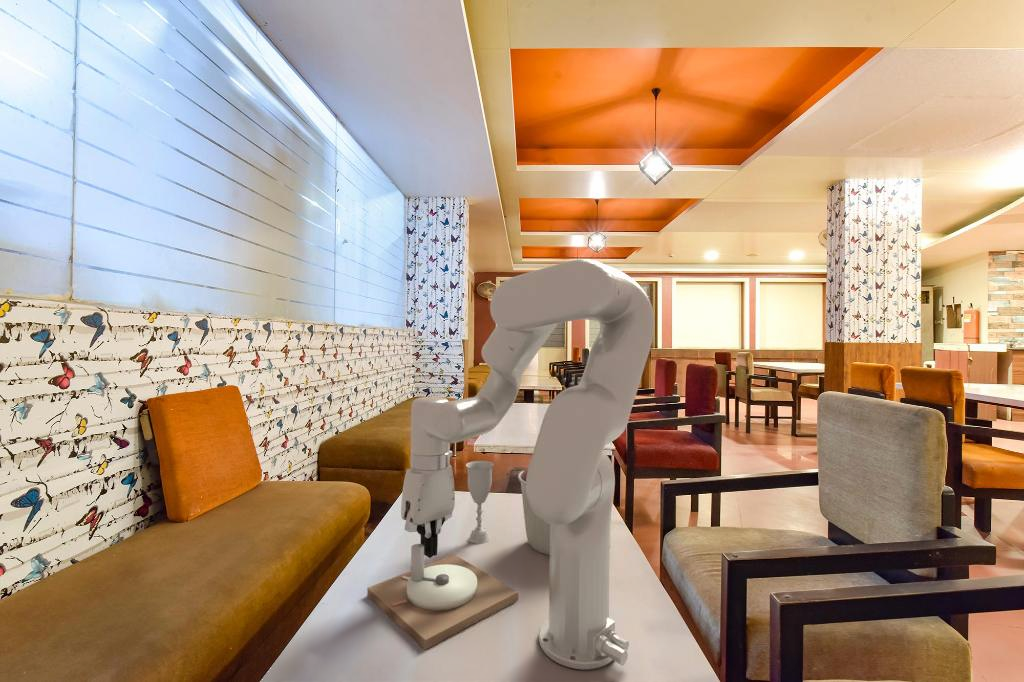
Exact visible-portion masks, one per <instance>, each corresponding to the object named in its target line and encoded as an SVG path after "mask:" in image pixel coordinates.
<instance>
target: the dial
mask: <svg viewBox="0 0 1024 682" xmlns="http://www.w3.org/2000/svg"><path fill="white" fill-rule="evenodd" d="M410 549H411V550H410V552H411V553H410V559H411V560H410V571H411V577H410V578H409V580H408V582H407V598H408V600H409V601H410V602H411V603H412V604H413V605H415V606H417V607H419V608H422V609H427V610H448V609H453V608H457V607H459V606H462V605H464V604H466V603H467V602H469V601H470V600H471V599H472V598H473V597H474V596H475V595H476V592H477V577H476V575H475V574H474V573H473V572H472V571H471V570H469V569H467V568H465V567H462V566H458V565H447V564H445V565H435V566H430V567H427V568H424V566H425V555H424V545H423V544H421V543H415V544H413V545H412V546H411V547H410Z"/></svg>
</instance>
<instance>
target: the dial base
mask: <svg viewBox="0 0 1024 682" xmlns="http://www.w3.org/2000/svg"><path fill="white" fill-rule="evenodd" d="M445 564H447V565H458V566H462V567H465V568H467V569H469V570H471V571H472V572H473V573H474V574H475V575H476V577H477V592H476V595H475V596H474V597H473V598H472V599H471V600H470V601H469V602H467V603H466V604H464V605H462V606H459V607H457V608H453V609H448V610H427V609H422V608H419V607H417V606H415V605H413V604H412V603H411V602H410V601H409V600H408V598H407V582H408V580H409V578H410V577H411V570H409V571H408V572H404V573H402V574H400V575H396V576H394V577H392V578H390V579H386V580H384V581H382V582H379V583H377V584H373V585H371V586H369V587H367V590H366V591H367V592H366V593H367V594H366V595H367V597H368V598H369V599H370V600H371V601H372V602H373V603H374V604H376V605H377V606H378V608H380V609H381V610H382V611H383V612H384V613H385V614H386V615H388V617H389V618H391V619H392V621H394V623H396V624H397V625H398V626H400V627H401V629H402V630H404V631H405V632H406V634H408V635H409V636H410V637H411V638H412V639H414V641H415V642H416V643H418V645H420V646H421V647H422V648H423V649H424V650H427V649H429V648H431V647H433V646H435V645H437V644H439V643H440V642H443V641H444V640H446V639H448V638H450V637H451V636H453V635H455V634H457V633H459V632H461V631H463V630H465V629H467V628H468V627H470V625H471V626H472V625H474V624H476V623H478V622H480V621H482V620H484V619H485V618H487V617H489V616H491V615H493V614H494V613H495V614H496V613H497V612H498V611H501V610H503V609H504V608H506V607H508V606H510V605H513V604H514V603H515V602H517V601H519V592H518V590H515V589H513V588H512V587H510V586H508V585H507V584H505V583H503V582H502V581H500V580H498V579H497V578H495V577H493V576H492V575H490V574H488V573H487V572H485V571H483V570H482V569H480V568H478V567H476V566H474V565H473V564H471V563H470V562H468V561H466V560H465V559H463V558H462V557H460V556H458V555H456V554H454V553H453V554H452V555H448V556H446V557H444V558H441V559H438V560H436V561H433V562H430V563H428V564H424V568H427V567H430V566H435V565H445ZM479 620H480V621H479ZM477 621H478V622H477ZM475 622H476V623H475ZM473 623H474V624H473Z"/></svg>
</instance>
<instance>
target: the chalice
mask: <svg viewBox="0 0 1024 682" xmlns="http://www.w3.org/2000/svg"><path fill="white" fill-rule="evenodd" d="M465 466H466V469H467V488H468V491H469V493H470V496H471V498H472V500H473V503H475V504H476V505H477V507H476V508H477V509H476V511H475V512H476V513H477V516H476V518H475V520H476V523H477V524H476V527H474V528H473V529H472V530H471V532H470V535H469V537H468V541H469V542H470V543H472V544H477V545H479V544H486V543H487V542H489V541H490V537H489V533H488V531H487V529H486V528H484V527H483V526H482V521H483V520H484V519H483V517H482V514H483V509H482V504H483V503H486V500H487V498H488V495H489V494H490V491H491V488H492V485H493V477H492V476H493V467H494V466H495V463H493V462H492V461H487V460H474V461H469V462H467V463H466V464H465ZM485 542H486V543H485Z"/></svg>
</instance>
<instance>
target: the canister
mask: <svg viewBox="0 0 1024 682" xmlns="http://www.w3.org/2000/svg"><path fill="white" fill-rule="evenodd" d="M528 469H529V466H528V467H527V468H525V469H523V470H521V471H520V472H519V473H518V476H517V478H518V480H519V482H520V487H521V495H522V496H521V497H522V509H523V518H524V527H525V534H526V539H527V541H528V543H529V545H530V546H531V547H532V549H534V550H535V551H536V552H538V553H541V554H543V555H546V556H550V527H551V524H548V523H546V522H544V521H542V520H541V519H539V518H538V517H537V516H536V515H535V514H534V512H533V511H532V509H531V508H530V506H529V503H528V500H527V496H526V477H527V473H528Z"/></svg>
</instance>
